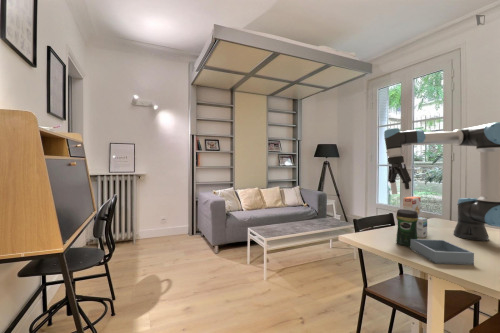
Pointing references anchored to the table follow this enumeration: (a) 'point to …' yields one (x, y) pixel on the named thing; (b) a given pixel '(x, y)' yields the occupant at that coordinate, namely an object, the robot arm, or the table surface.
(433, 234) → the table surface
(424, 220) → the light bulb box
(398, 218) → the coffee jar
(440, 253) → the tray
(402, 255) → the table surface
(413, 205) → the cracker box
